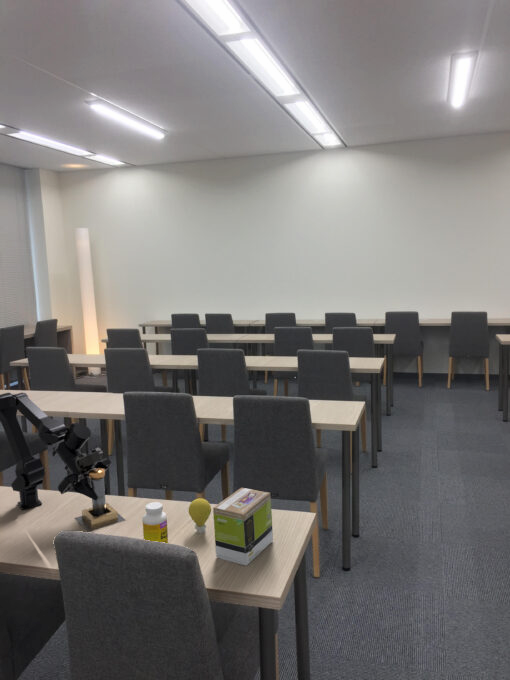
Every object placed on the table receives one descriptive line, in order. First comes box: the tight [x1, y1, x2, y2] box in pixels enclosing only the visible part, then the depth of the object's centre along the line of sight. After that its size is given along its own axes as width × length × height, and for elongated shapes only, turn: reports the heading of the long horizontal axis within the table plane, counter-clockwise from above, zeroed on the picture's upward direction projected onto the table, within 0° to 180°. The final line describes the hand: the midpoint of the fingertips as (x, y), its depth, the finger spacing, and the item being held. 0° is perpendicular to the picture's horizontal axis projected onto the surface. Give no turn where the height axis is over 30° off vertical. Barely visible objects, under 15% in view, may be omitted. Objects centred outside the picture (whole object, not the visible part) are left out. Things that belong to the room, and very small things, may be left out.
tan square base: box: [74, 503, 126, 533], centre depth 172 cm, size 12×12×3 cm
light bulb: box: [188, 498, 212, 534], centre depth 163 cm, size 7×7×10 cm
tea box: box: [212, 487, 274, 566], centre depth 151 cm, size 15×10×15 cm
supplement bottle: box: [142, 501, 169, 544], centre depth 153 cm, size 7×7×13 cm
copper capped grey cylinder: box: [88, 468, 107, 517], centre depth 171 cm, size 5×5×16 cm
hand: (101, 496), depth 170 cm, fingers closed on copper capped grey cylinder, 4 cm apart
